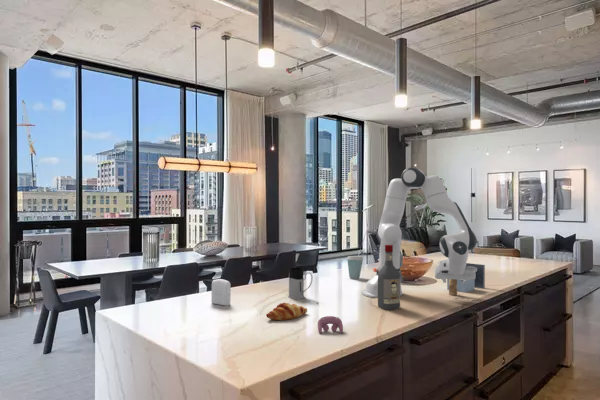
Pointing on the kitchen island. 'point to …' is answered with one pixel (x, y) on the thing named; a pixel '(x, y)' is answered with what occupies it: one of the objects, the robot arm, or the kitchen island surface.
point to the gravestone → (221, 292)
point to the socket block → (463, 285)
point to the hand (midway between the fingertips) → (453, 281)
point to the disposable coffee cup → (354, 266)
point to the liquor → (388, 283)
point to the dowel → (453, 287)
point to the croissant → (286, 312)
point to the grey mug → (297, 283)
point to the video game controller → (330, 320)
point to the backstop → (479, 275)
